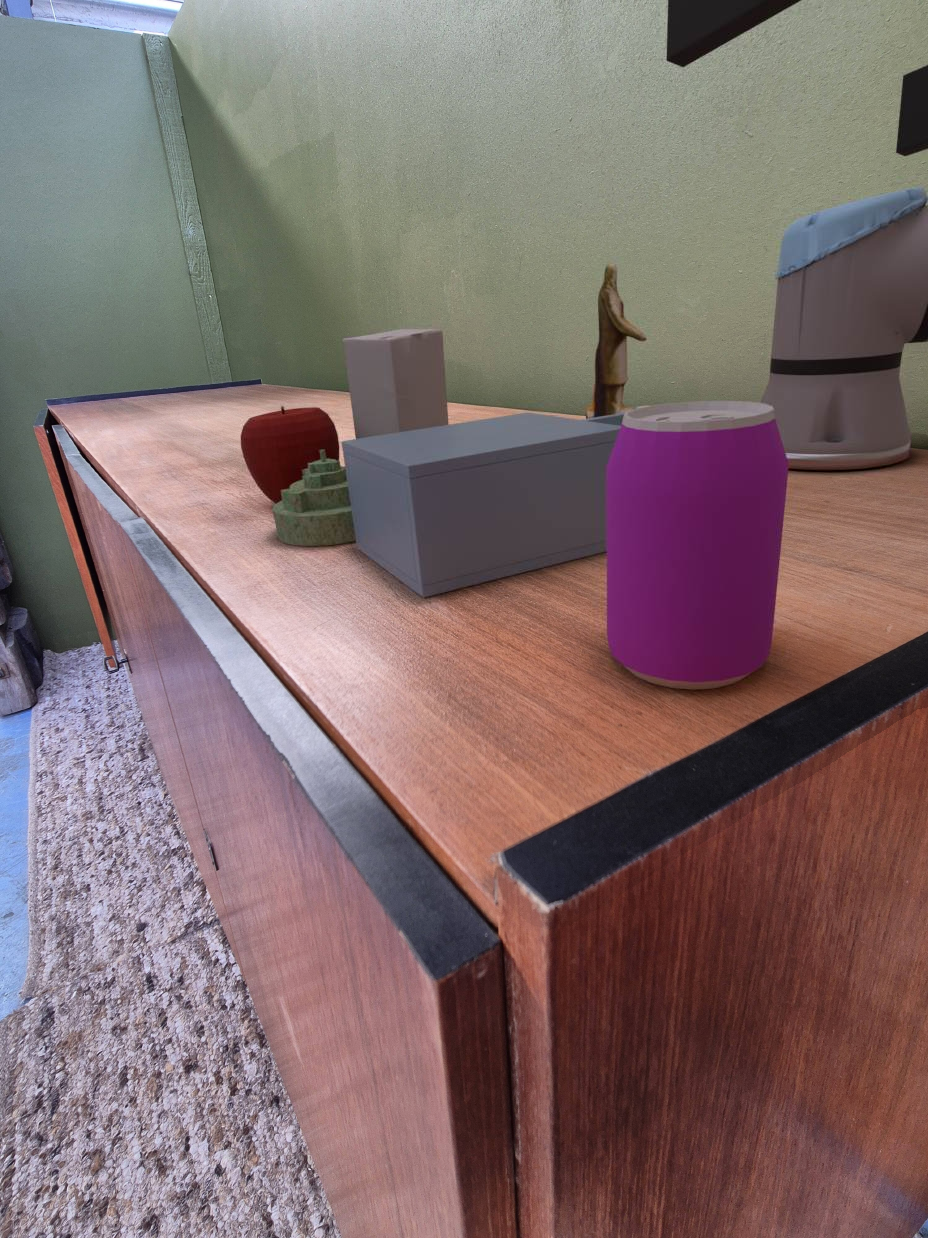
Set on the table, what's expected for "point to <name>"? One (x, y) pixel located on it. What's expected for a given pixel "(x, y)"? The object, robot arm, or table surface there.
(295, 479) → the apple
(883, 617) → the table surface
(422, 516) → the cabinet
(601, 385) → the figurine
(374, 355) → the cosmetic box
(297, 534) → the decorative artifact
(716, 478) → the beverage can
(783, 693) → the table surface
